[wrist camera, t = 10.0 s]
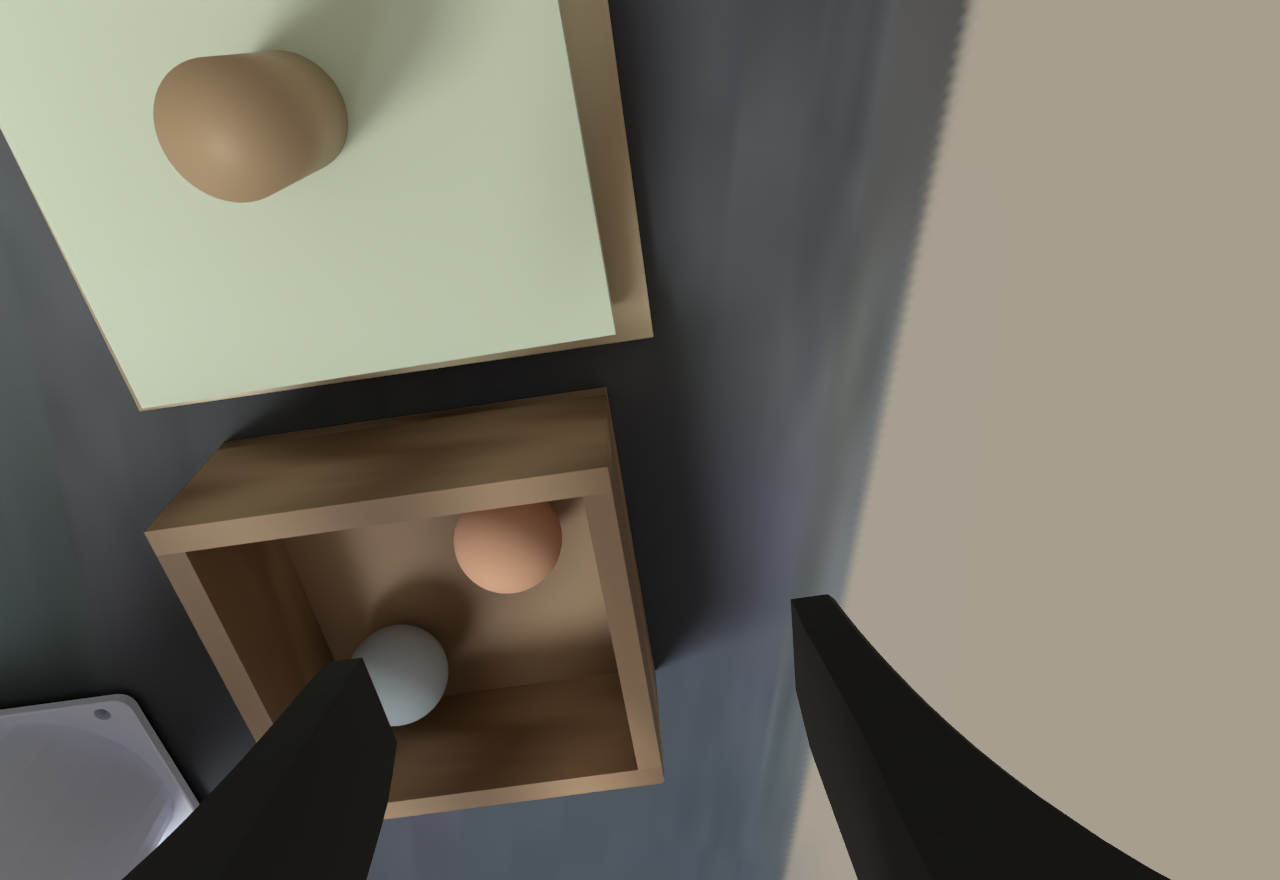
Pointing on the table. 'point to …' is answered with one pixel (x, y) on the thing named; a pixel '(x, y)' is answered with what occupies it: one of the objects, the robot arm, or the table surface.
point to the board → (610, 191)
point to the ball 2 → (508, 546)
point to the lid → (307, 182)
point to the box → (432, 591)
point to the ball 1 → (405, 671)
